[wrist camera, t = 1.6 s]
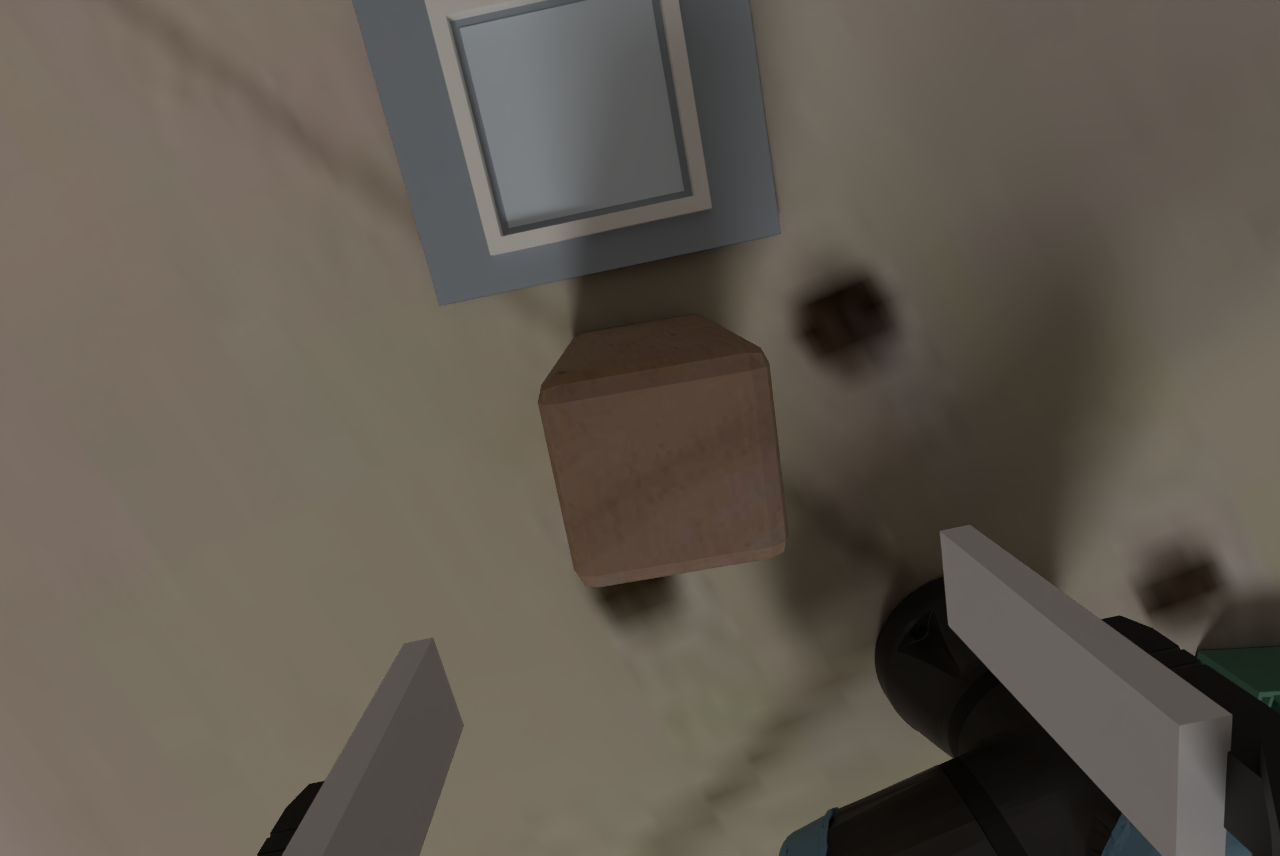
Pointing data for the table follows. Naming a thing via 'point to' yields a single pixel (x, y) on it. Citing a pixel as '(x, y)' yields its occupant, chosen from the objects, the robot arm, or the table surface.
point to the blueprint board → (571, 133)
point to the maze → (1249, 670)
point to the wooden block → (664, 450)
